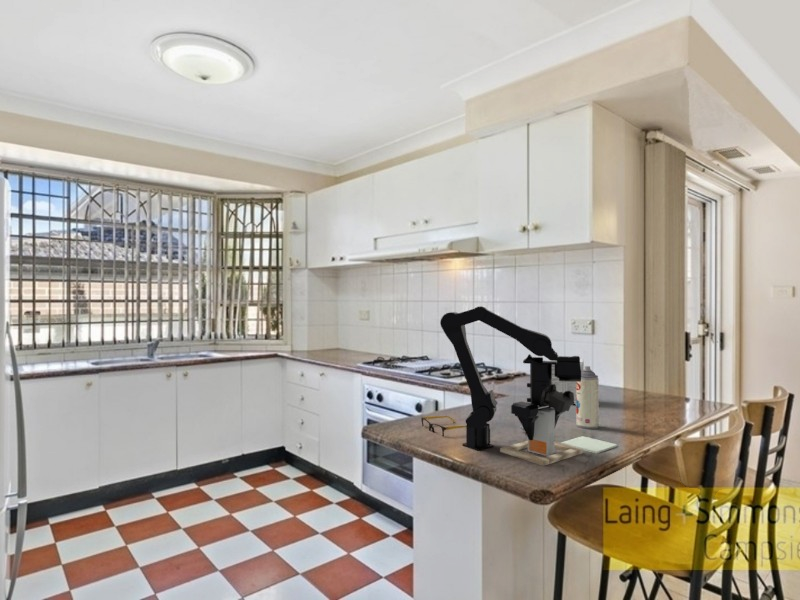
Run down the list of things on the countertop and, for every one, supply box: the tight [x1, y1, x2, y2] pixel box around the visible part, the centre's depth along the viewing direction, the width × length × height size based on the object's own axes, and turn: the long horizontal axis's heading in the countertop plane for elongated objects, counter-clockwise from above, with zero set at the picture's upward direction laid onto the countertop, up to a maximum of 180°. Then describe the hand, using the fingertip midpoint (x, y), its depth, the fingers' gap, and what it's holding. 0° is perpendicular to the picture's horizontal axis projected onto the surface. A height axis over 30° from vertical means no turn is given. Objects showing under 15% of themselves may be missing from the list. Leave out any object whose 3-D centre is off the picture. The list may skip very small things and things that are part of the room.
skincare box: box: [527, 408, 556, 457], centre depth 130 cm, size 6×4×12 cm
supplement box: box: [549, 358, 585, 406], centre depth 199 cm, size 13×13×18 cm
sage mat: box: [560, 435, 618, 454], centre depth 137 cm, size 11×11×1 cm
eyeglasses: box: [420, 415, 466, 437], centre depth 153 cm, size 14×14×4 cm
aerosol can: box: [575, 365, 600, 430], centre depth 158 cm, size 7×7×20 cm
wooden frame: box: [499, 440, 583, 466], centre depth 130 cm, size 17×14×1 cm
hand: (541, 437), depth 130 cm, fingers open, 8 cm apart
